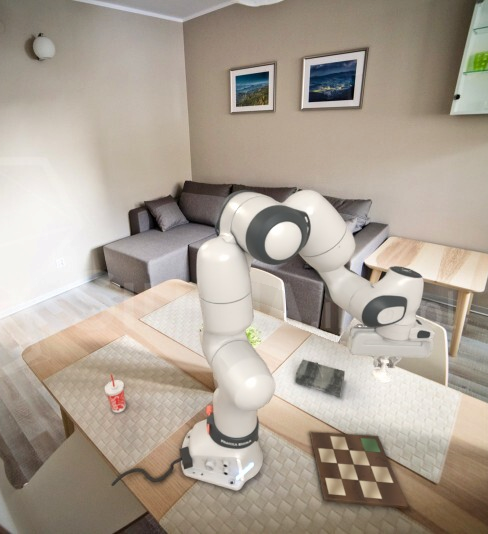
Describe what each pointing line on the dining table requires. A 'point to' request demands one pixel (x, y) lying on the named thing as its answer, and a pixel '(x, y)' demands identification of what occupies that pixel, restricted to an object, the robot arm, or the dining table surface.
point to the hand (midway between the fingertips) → (383, 366)
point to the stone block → (320, 377)
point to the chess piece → (382, 371)
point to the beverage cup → (116, 395)
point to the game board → (355, 470)
